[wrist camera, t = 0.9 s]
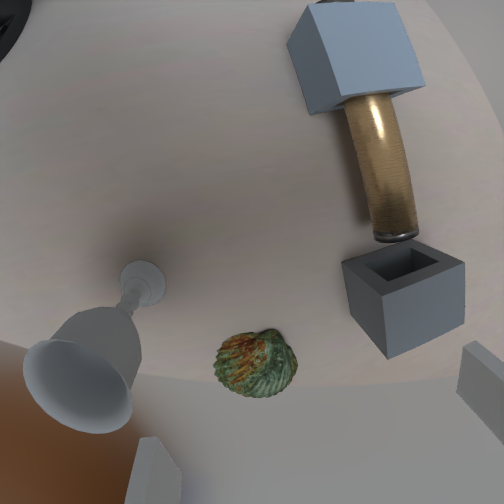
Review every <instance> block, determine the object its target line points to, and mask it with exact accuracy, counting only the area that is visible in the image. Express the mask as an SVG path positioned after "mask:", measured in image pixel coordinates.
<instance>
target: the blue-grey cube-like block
mask: <svg viewBox="0 0 504 504" xmlns="http://www.w3.org/2000/svg"><path fill="white" fill-rule="evenodd" d="M287 47H288V50H289V53H290V55H291V58H292V61H293V64H294V67H295V70H296V73H297V76H298V79H299V82H300V85H301V88H302V91H303V95H304V98H305V101H306V104H307V107H308V111H309V114H310V115H312V114H317V113H322V112H327V111H333V110H338V109H344V107H343V104H342V102H343V101H344V100H346V99H348V98H350V97H354V96H360V95H367V94H374V93H382V92H389V94H390V97H391V98H393V97H396V96H398V95H401V94H404V93H407V92H409V91H412V90H415V89H418V88H421V87H424V86H426V85H425V82H424V79H423V76H422V73H421V70H420V67H419V64H418V61H417V58H416V55H415V53H414V50H413V47H412V45H411V42H410V39H409V37H408V34H407V32H406V29H405V27H404V25H403V22H402V20H401V18H400V15H399V13H398V11H397V9H396V7H395V4H394V3H388V2H336V3H319V4H308V5H307V7H306V9H305V10H304V12H303V14H302V16H301V18H300V20H299V22H298V23H297V25H296V27H295V29H294V31H293V33H292V35H291V37H290V38H289V40H288V42H287Z"/></svg>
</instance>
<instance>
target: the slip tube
mask: <svg viewBox="0 0 504 504" xmlns="http://www.w3.org/2000/svg"><path fill="white" fill-rule="evenodd" d="M336 2H355V1H354V0H321V1H319V2H317V3H315V4H319V3H336ZM342 104H343V107H344V111H345V114H346V118H347V121H348V125H349V128H350V132H351V135H352V139H353V143H354V147H355V151H356V155H357V159H358V163H359V167H360V171H361V175H362V180H363V184H364V189H365V193H366V198H367V203H368V208H369V213H370V218H371V223H372V228H373V234H374V239H375V240H376V241H378V242H381V243H396V242H402V241H406V240H409V239H412V238H414V237H415V236H417V235H418V234H419V227H418V220H417V213H416V207H415V201H414V195H413V189H412V184H411V178H410V173H409V168H408V164H407V159H406V154H405V150H404V146H403V141H402V137H401V133H400V129H399V125H398V122H397V118H396V114H395V111H394V107H393V104H392V100H391V97H390V94H389V92H382V93H374V94H367V95H360V96H354V97H350V98H348V99H346V100H344V101H343V102H342Z"/></svg>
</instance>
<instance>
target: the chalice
mask: <svg viewBox="0 0 504 504" xmlns="http://www.w3.org/2000/svg"><path fill="white" fill-rule="evenodd" d="M120 286H121V292H122V295H123V296H122V298H121V302H120V303H118V304H117V306H116V308H115V307H98V308H93V309H89V310H86V311H82V312H78V313H76V314H75V315H73V316H72V317H70V318H69V319H68V320H67V321H66V322H65V323H64V324H63V325H62V326H61V328H60V329H59V330H58V331H57V332H56V333H55V334H54V335H53V336H52V337H51V339H50V340H46V341H41V342H39V343H37V344H36V345H34V346H33V347H31V348H30V349H29V351H28V352H27V354H26V356H25V358H24V364H23V375H24V378H25V381H26V385H27V388H28V389H29V391H30V393H31V394H32V396H33V398H34V399H35V401H36V402H37V403H38V404H39V405H40V406H41V407H42V408H43V409H44V411H45V412H46V413H47V414H49V415H50V416H52V417H53V418H54V419H56V420H57V421H59V422H60V423H62V424H64V425H66V426H69V427H71V428H73V429H75V430H79V431H83V432H88V433H109V432H112V431H114V430H117V429H120V428H121V427H122V426H123V425H124V424H125V423H126V422H128V421H129V418H130V416H131V413H132V411H133V403H132V394H131V391H130V389H131V387H132V384H133V381H134V379H135V376H136V374H137V371H138V368H139V366H140V363H141V360H142V357H141V345H140V339H139V335H138V332H137V330H136V327H135V325H134V323H133V321H132V319H131V316H132V315H133V310H136V309H137V308H138V307H143V306H149V305H153V304H155V303H157V302H158V301H160V299H161V298H162V297H163V296H164V293H165V290H166V281H165V278H164V275H163V273H162V272H161V270H160V269H159V268H158V267H157V266H155V265H154V264H153V263H150V262H148V261H142V260H138V261H134V262H131V263H129V264H128V265H126V266H125V268H124V269H123V271H122V272H121V276H120Z"/></svg>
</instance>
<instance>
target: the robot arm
mask: <svg viewBox="0 0 504 504" xmlns="http://www.w3.org/2000/svg"><path fill="white" fill-rule="evenodd" d="M30 7H31V0H0V61H1V60H2V59H3V58H4V56H5V55H6V54H7V53H8V51H9V50H10V49H11V47H12V46H13V44H14V43H15V41H16V40H17V38H18V36H19V35H20V33H21V31H22V29H23V27H24V25H25V23H26V20H27V18H28V15H29V11H30ZM456 392H457V394H458V395H459V396H460V397H461V398H462V399H463V400H464V401H465V402H466V403H467V404H468V405H469V407H470V408H471V409H472V410H473V411H474V412H475V413H476V414H477V415H478V417H479V418H480V419H481V420H482V421H483V422H484V423H485V424H486V425H487V426H488V428H489V429H490V430H491V431H492V432H493V433H494V434H495V436H496V437H497V438H498V439H499V440H500V441H501V442H502V443H503V445H504V362H502V361H501V360H500V359H499V358H497V357H496V356H495V355H494V354H492V353H491V352H490V351H489V350H487V349H486V348H485V347H483V346H482V345H481V344H480V343H478V342H477V341H476V340H475V341H473V342H471V343H469V344H467V345H465V346H463V351H462V359H461V366H460V373H459V379H458V385H457V391H456ZM181 483H182V473H181V471H180V470H179V469H178V467H177V466H176V465H175V463H174V461H173V460H172V459H171V457H170V456H169V454H168V453H167V451H166V450H165V448H164V447H163V445H162V444H161V442H160V440H159V439H158V437H148V438H140V441H139V445H138V449H137V453H136V457H135V461H134V465H133V469H132V473H131V477H130V482H129V486H128V490H127V494H126V499H125V503H124V504H180V495H181Z"/></svg>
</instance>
